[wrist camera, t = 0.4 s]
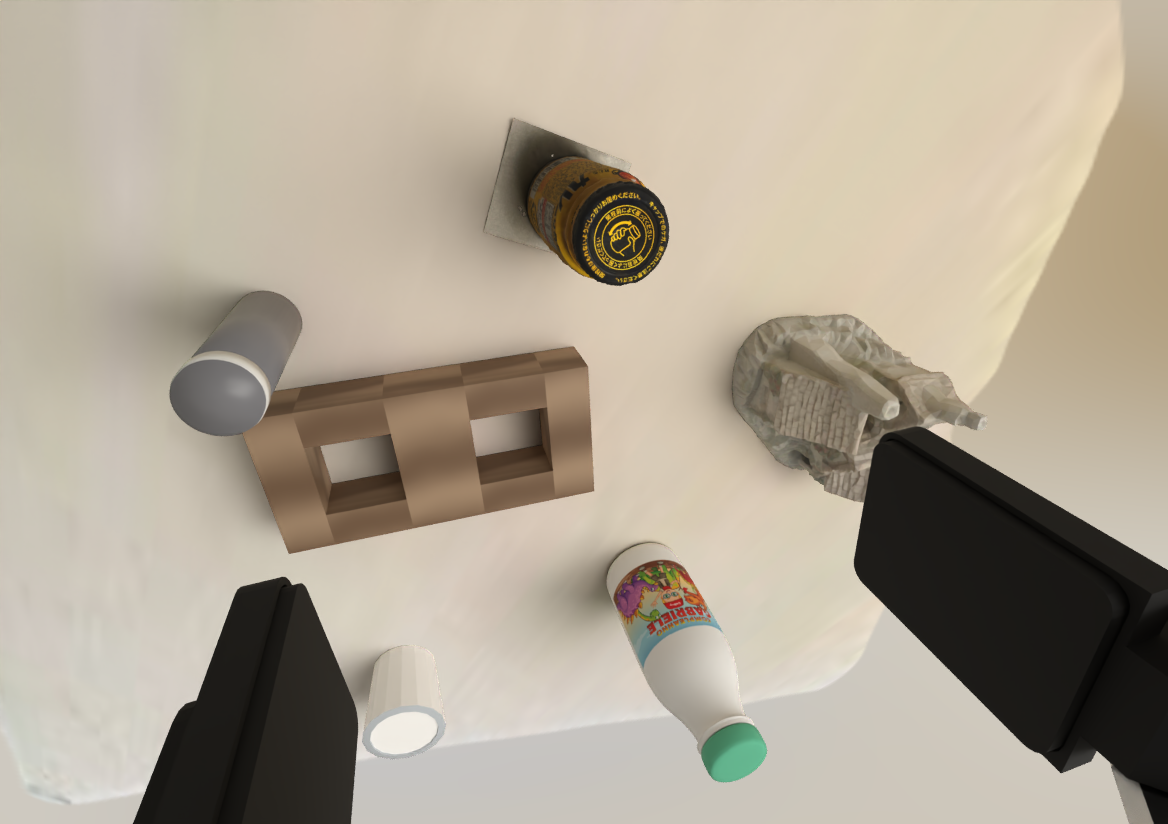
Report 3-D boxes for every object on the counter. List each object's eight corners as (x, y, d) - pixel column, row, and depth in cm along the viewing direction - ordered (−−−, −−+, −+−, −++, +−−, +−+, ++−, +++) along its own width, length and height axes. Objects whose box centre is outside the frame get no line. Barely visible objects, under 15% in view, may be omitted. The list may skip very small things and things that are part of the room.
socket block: (252, 394, 40) (237, 421, 36) (573, 346, 45) (588, 366, 41) (298, 523, 45) (290, 556, 42) (581, 467, 50) (594, 494, 47)
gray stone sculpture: (754, 302, 47) (885, 390, 35) (902, 320, 53) (1059, 400, 41) (697, 459, 54) (789, 577, 42) (833, 459, 60) (949, 563, 48)
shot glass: (399, 629, 53) (399, 696, 47) (456, 656, 56) (462, 721, 50) (350, 676, 54) (343, 747, 48) (409, 700, 57) (409, 768, 51)
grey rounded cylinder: (223, 294, 37) (153, 367, 26) (292, 286, 37) (251, 354, 27) (245, 354, 39) (187, 443, 28) (310, 345, 39) (277, 429, 29)
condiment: (595, 265, 42) (656, 316, 32) (483, 231, 39) (511, 275, 29) (630, 163, 40) (709, 182, 29) (512, 117, 36) (554, 121, 26)
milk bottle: (683, 579, 60) (794, 766, 43) (616, 610, 60) (701, 813, 43) (667, 528, 56) (782, 711, 39) (594, 560, 56) (679, 761, 39)
